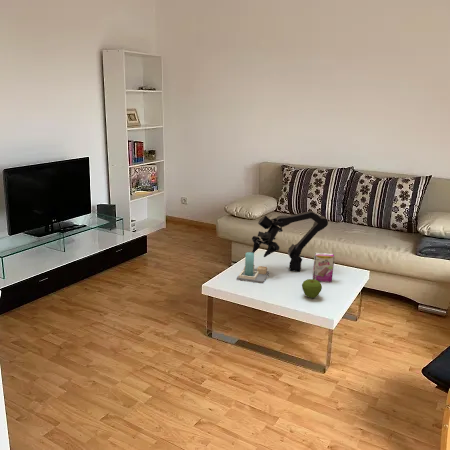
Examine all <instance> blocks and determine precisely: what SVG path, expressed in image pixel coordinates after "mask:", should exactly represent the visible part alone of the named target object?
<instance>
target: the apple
mask: <svg viewBox="0 0 450 450" xmlns="http://www.w3.org/2000/svg"><path fill="white" fill-rule="evenodd" d="M301 288H302V291H303V293H304V295H305V297H307V298H309V299H315V298H317V297H318V296H319V295H320V293H321V292H322V290H323V289H322V288H323V285H322V283H321V281H317V280H314V279H313V278H308V279H306V280H304V281H303V282H302V284H301Z"/></svg>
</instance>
